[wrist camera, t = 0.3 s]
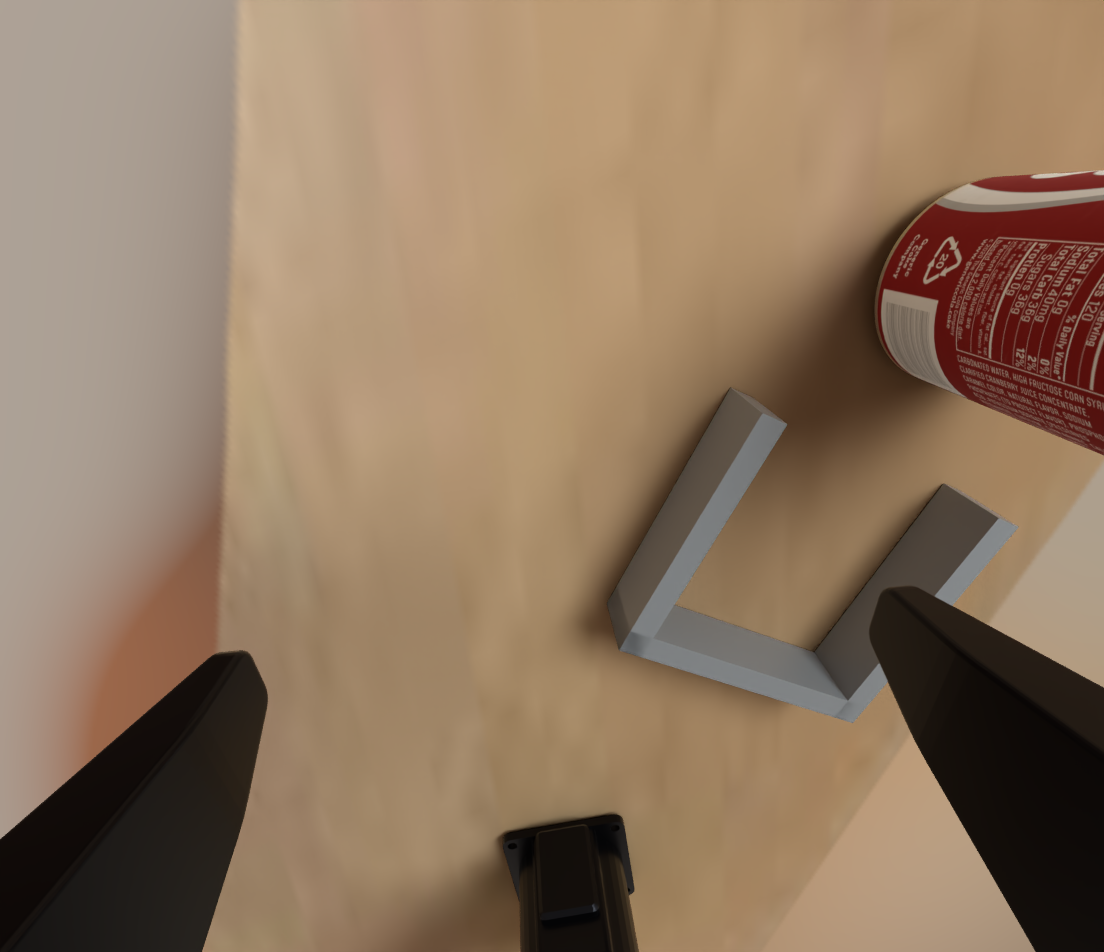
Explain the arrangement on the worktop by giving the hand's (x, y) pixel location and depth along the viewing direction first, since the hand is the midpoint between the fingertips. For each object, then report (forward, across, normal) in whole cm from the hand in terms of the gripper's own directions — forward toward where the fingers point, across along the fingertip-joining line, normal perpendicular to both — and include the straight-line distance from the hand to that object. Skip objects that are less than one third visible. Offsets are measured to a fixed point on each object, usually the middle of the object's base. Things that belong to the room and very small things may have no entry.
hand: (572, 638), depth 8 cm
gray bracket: (+13, -10, +10) cm, 19 cm away
